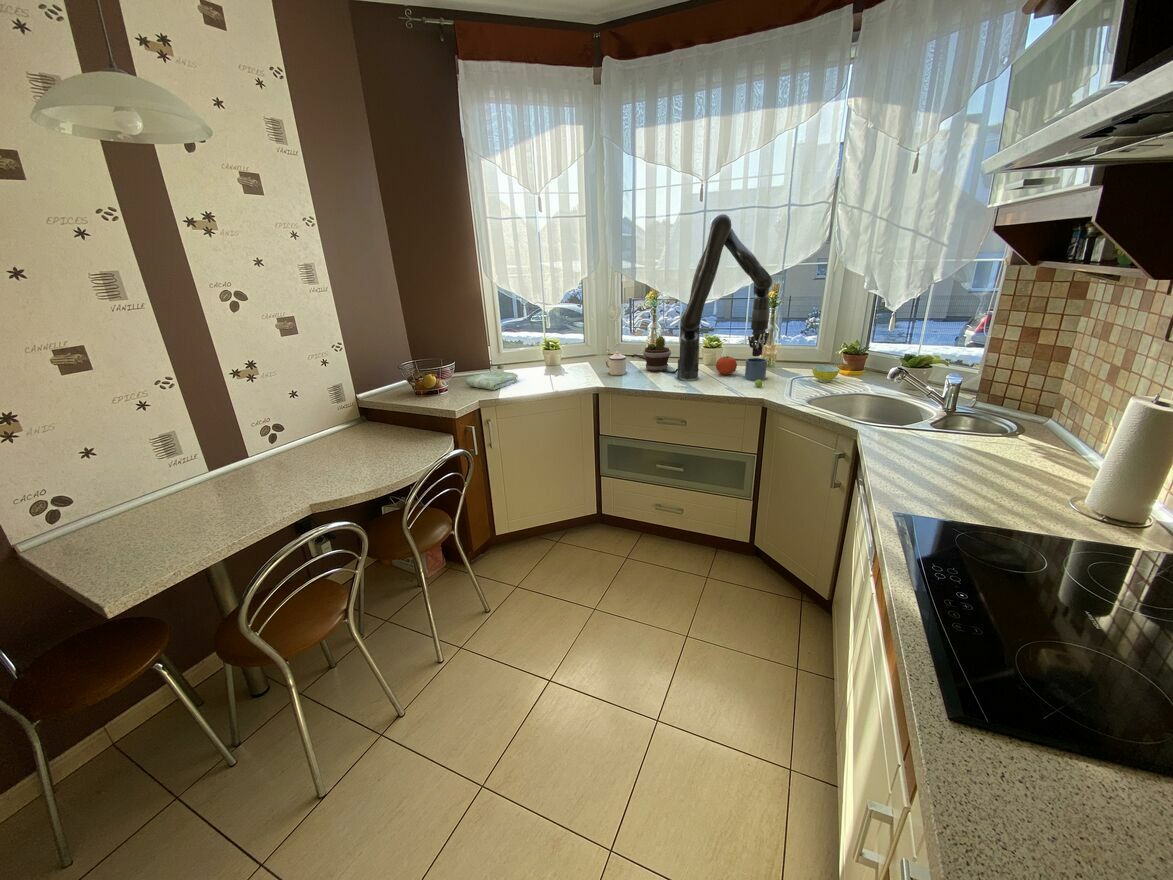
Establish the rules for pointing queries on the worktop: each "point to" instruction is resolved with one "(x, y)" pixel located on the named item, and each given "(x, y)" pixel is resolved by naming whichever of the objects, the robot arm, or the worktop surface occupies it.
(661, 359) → the flowerpot
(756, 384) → the green grape
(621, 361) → the teacup with lid
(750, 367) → the cup
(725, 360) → the tomato
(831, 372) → the bowl
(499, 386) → the towel
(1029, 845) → the worktop surface
